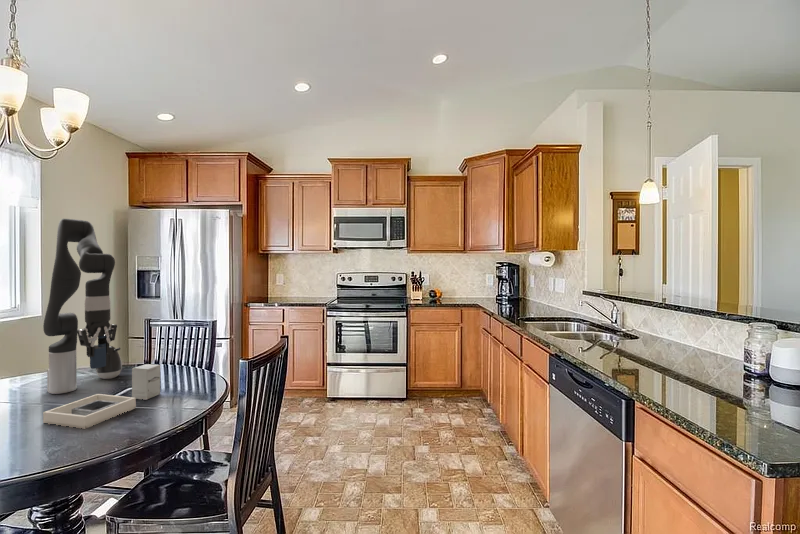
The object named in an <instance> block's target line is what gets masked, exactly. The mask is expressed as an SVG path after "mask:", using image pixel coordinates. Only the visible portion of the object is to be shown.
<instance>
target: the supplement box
mask: <svg viewBox="0 0 800 534" xmlns="http://www.w3.org/2000/svg"><path fill="white" fill-rule="evenodd" d="M159 395H161V364H149V363H145V364H142V365H139V366H136V367H132V369H131V397H133V398H136V400H142V399H143V400H146V401H147V400H149V399H151V398H154V397H157V396H159Z"/></svg>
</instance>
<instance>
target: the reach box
mask: <svg viewBox="0 0 800 534" xmlns="http://www.w3.org/2000/svg"><path fill="white" fill-rule="evenodd" d="M96 400H104V401H113V402H120V403H118V404H115V405H113V406H110V407H107V408H105V409H102V410H99V411H97V412H94V413H91V414H89V415H86V416H83V415H75V414H72V409H73V408H76V407H79V406H82V405H85V404H88V403H91V402H93V401H96ZM136 401H137V399H136V398H133V397H132V396H123V395H114V394H113V395H112V394H104V393H103V394H102V393H95V394H93V395H90V396H87V397H84V398H81V399H78V400H75V401H72V402H70V403H66V404H64V405H61V406H60V405H59V406H57V407H54V408H51V409H48V410H46V411H43V413H42V415H43V416H42V419H43V421H42V422H43V423H48V424H47V425H50V424H56V425H55V426H58V425H61V426H60V427H66V426H69V427H68V428H73V427H76V428H75V429H81V428H82V429H83V430H86V429H88V428H91V427H93V425H94V426H96V425H98V424H100V423H104V422H105V420H106V421H107V420H110V418H111V419H113V418H115V417H117V415H118V416H120V415H123V414H125V413H127V411H128V412H130V411H132V410H134V409H136V408H137V402H136ZM96 410H98V409H96ZM94 411H95V410H94ZM124 412H125V413H124ZM122 413H123V414H122ZM119 414H120V415H119ZM112 417H113V418H112Z"/></svg>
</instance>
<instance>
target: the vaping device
mask: <svg viewBox="0 0 800 534" xmlns="http://www.w3.org/2000/svg"><path fill="white" fill-rule="evenodd" d="M105 338H106V337H105V336H99V337H97V344H94V346H93V347H94V357H89V367H90V369H92V370H96V368H100V367H104V366H106V339H105Z"/></svg>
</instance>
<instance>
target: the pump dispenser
mask: <svg viewBox="0 0 800 534" xmlns="http://www.w3.org/2000/svg"><path fill="white" fill-rule="evenodd" d="M119 351H121V347H117V348H116V347H115V346H114V345H109V353H107V354H106V366H104V367H100V368H96V369H95V371H96V373H97V376H98V378H101V379H103V380H111V379H114V378H116V377H118V376H119V375H120V373H121V372H122V369H123V365H122V364H123V363H122V359H121V356H120V354H119Z"/></svg>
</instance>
